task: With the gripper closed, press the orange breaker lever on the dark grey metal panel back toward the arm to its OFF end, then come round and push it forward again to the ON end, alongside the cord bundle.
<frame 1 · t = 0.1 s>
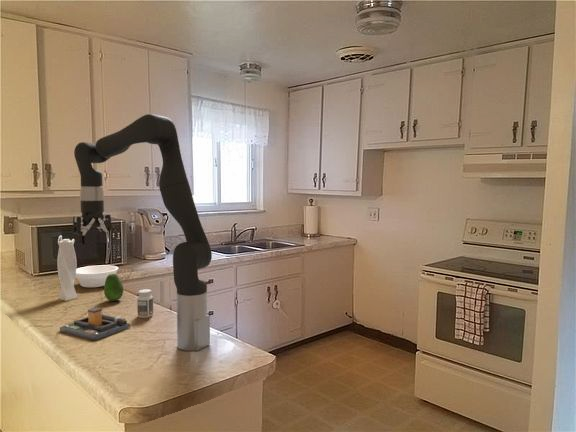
hand: (93, 244, 145), 29 cm above the countertop, fingers open, 8 cm apart
breaker lever: (95, 317, 140), point 4 cm above the countertop, slide at 0.0 cm
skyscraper: (67, 298, 178), on the countertop
pill bottle: (145, 316, 156), on the countertop
avocado: (114, 301, 175), on the countertop
bowl: (96, 285, 202), on the countertop
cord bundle: (108, 324, 146), resting on breaker panel
breaker panel: (95, 329, 141), on the countertop
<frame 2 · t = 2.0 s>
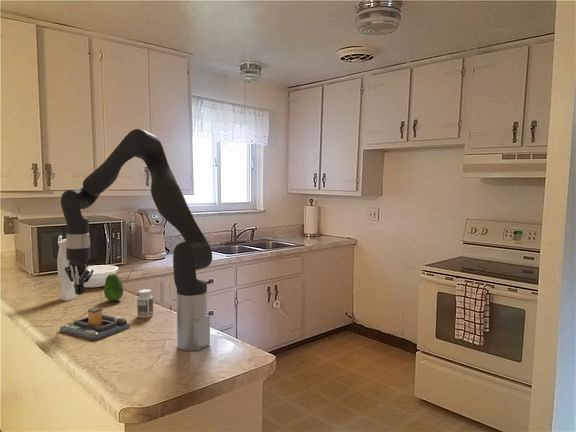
hand: (79, 294, 144), 11 cm above the countertop, fingers closed
nothing on the countertop moved.
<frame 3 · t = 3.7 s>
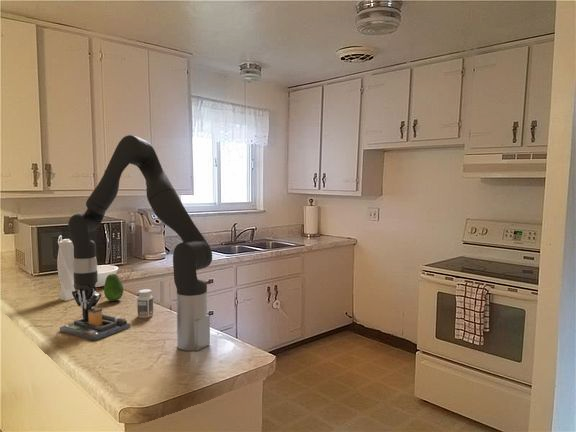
hand: (87, 318, 142), 3 cm above the countertop, fingers closed
breaker lever: (95, 317, 140), point 4 cm above the countertop, slide at -0.1 cm, touching gripper
everything else where it was.
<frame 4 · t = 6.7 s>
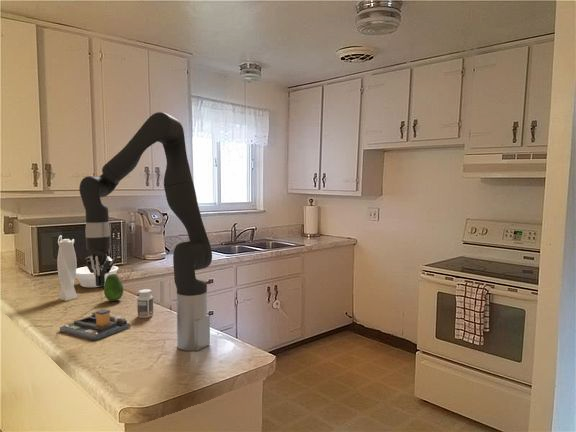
hand: (100, 285, 138), 16 cm above the countertop, fingers closed
breaker lever: (103, 319, 139), point 4 cm above the countertop, slide at -4.0 cm
everything else where it was.
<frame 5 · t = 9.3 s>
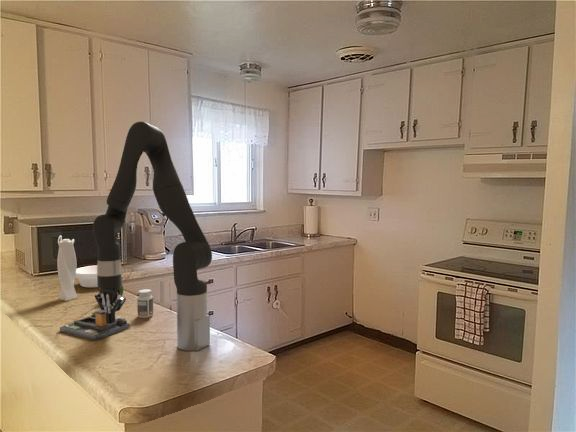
hand: (110, 323, 137), 4 cm above the countertop, fingers closed
breaker lever: (102, 318, 139), point 4 cm above the countertop, slide at -3.7 cm, touching gripper
everything else where it was.
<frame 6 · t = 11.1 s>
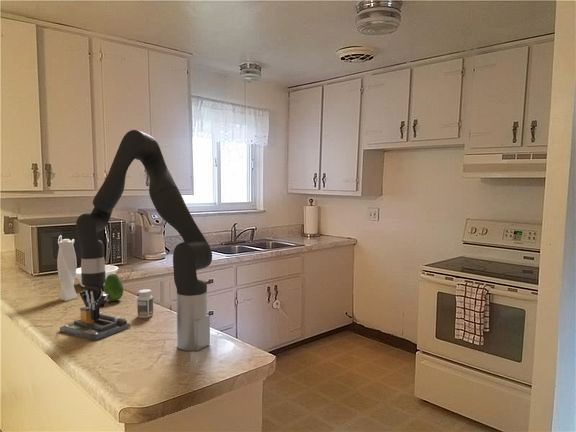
hand: (95, 319, 140), 4 cm above the countertop, fingers closed
breaker lever: (87, 315, 142), point 4 cm above the countertop, slide at 4.1 cm, touching gripper
everything else where it was.
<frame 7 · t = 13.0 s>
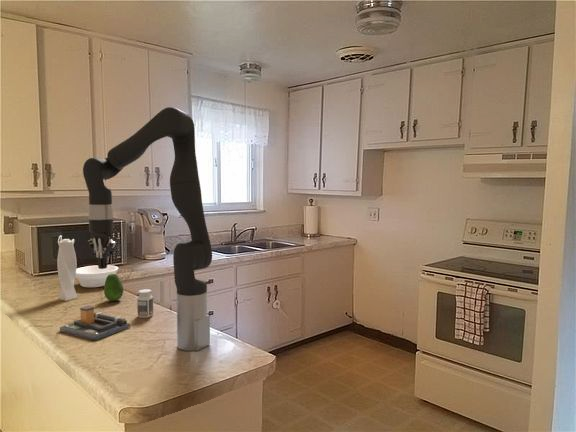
hand: (102, 268, 137), 22 cm above the countertop, fingers closed
breaker lever: (87, 315, 142), point 4 cm above the countertop, slide at 4.0 cm
everything else where it was.
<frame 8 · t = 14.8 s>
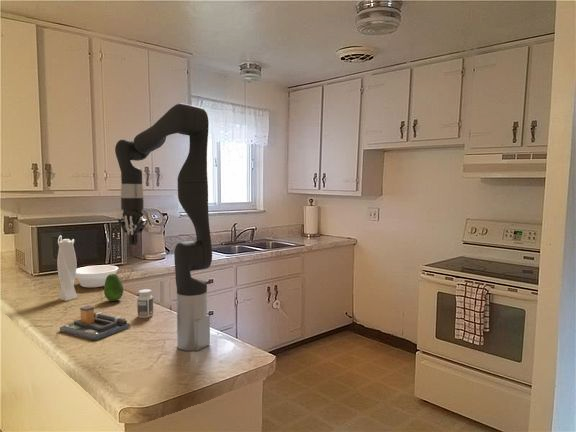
hand: (133, 244, 145), 29 cm above the countertop, fingers closed
nothing on the countertop moved.
at the end: breaker lever slide at 4.0 cm; breaker lever touching nothing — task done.
